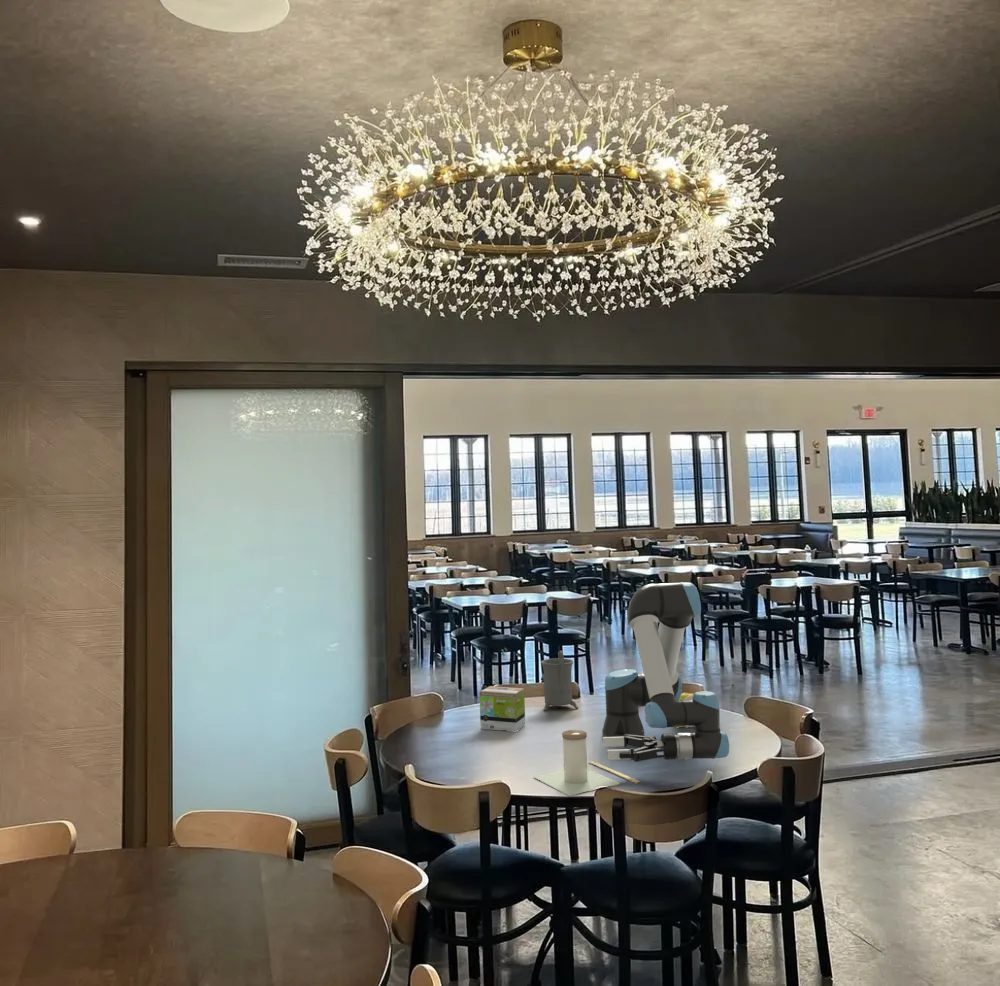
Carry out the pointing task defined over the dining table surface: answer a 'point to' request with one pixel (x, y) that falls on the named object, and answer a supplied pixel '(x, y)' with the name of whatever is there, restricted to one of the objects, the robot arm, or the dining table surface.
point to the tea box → (502, 708)
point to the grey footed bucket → (558, 681)
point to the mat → (570, 789)
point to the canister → (575, 756)
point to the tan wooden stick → (617, 773)
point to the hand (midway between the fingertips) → (605, 748)
